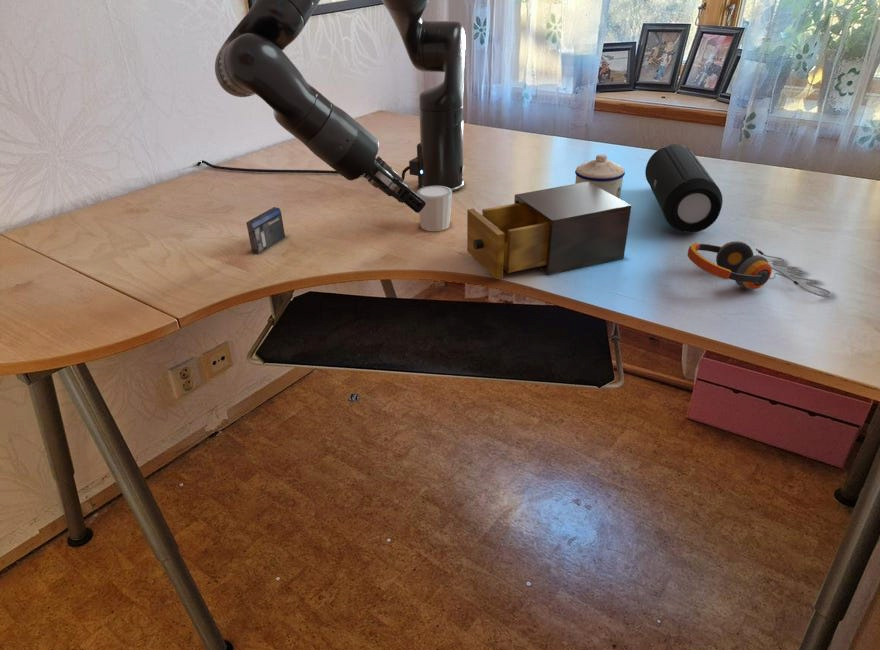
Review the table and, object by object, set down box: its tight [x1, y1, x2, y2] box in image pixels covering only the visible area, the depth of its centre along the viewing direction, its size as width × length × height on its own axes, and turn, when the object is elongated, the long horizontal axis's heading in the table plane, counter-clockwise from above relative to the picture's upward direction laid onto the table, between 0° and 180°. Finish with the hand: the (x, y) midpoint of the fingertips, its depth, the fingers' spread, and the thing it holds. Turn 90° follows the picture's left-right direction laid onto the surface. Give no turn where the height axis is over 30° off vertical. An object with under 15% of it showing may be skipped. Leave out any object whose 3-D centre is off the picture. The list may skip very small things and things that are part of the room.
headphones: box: [687, 240, 833, 298], centre depth 102 cm, size 17×5×20 cm
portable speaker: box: [644, 144, 724, 233], centre depth 125 cm, size 26×10×10 cm, turn 172°
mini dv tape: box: [245, 206, 286, 254], centre depth 124 cm, size 8×2×6 cm, turn 151°
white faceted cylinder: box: [416, 186, 453, 232], centre depth 127 cm, size 7×7×7 cm
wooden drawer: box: [466, 203, 550, 280], centre depth 111 cm, size 15×12×8 cm
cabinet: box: [513, 182, 632, 276], centre depth 113 cm, size 15×13×10 cm
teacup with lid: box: [574, 153, 626, 199], centre depth 127 cm, size 12×9×12 cm
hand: (420, 207), depth 106 cm, fingers closed
